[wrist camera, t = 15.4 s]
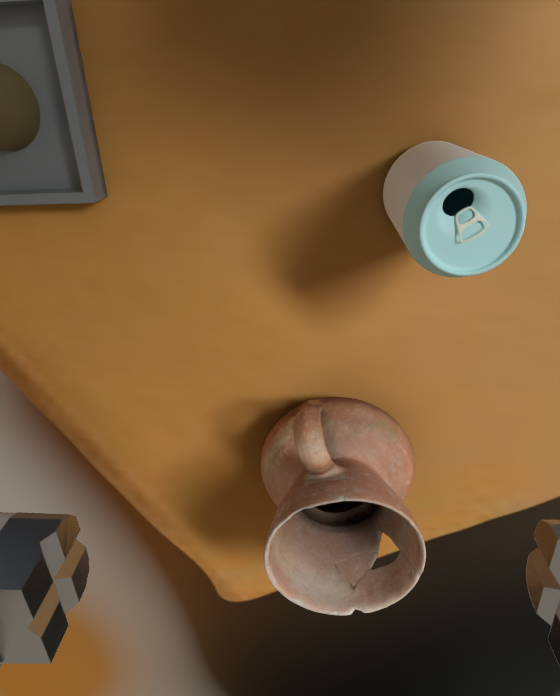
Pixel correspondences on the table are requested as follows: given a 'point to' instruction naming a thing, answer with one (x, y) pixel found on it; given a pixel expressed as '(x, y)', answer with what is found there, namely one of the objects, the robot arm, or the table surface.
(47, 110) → the tray
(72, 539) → the robot arm
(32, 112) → the olive tapered rounded piece
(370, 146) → the table surface
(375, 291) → the table surface
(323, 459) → the ceramic jug
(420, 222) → the can
